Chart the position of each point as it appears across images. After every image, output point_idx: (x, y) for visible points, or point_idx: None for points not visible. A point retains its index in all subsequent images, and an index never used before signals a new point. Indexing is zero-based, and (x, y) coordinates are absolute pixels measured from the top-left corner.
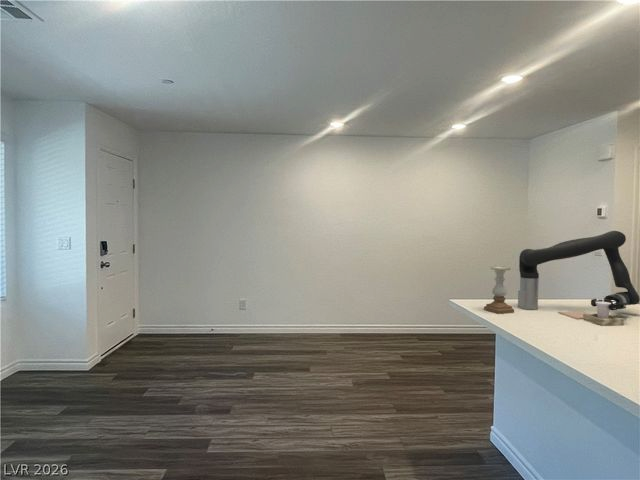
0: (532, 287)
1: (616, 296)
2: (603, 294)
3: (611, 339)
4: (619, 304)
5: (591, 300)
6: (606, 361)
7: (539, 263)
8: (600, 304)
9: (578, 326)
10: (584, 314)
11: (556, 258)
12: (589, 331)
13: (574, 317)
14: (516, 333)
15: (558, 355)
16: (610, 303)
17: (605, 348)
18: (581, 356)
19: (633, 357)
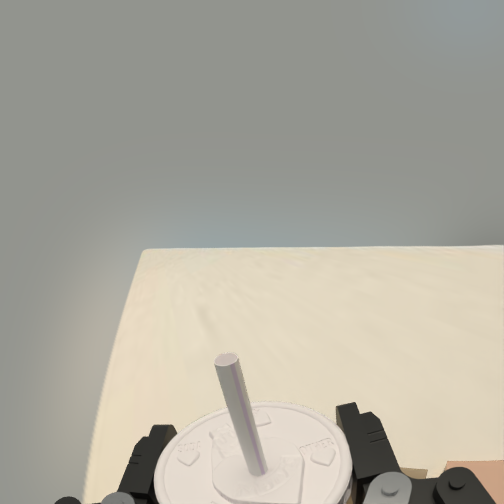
0: None
1: None
2: (223, 366)
3: (167, 333)
4: (70, 499)
5: (455, 468)
6: (166, 268)
7: None
8: (257, 411)
9: (314, 368)
10: (412, 469)
11: None
12: (244, 349)
13: (471, 463)
14: (338, 250)
15: (223, 250)
16: (164, 486)
17: (172, 291)
18: (197, 261)
19: (130, 291)
